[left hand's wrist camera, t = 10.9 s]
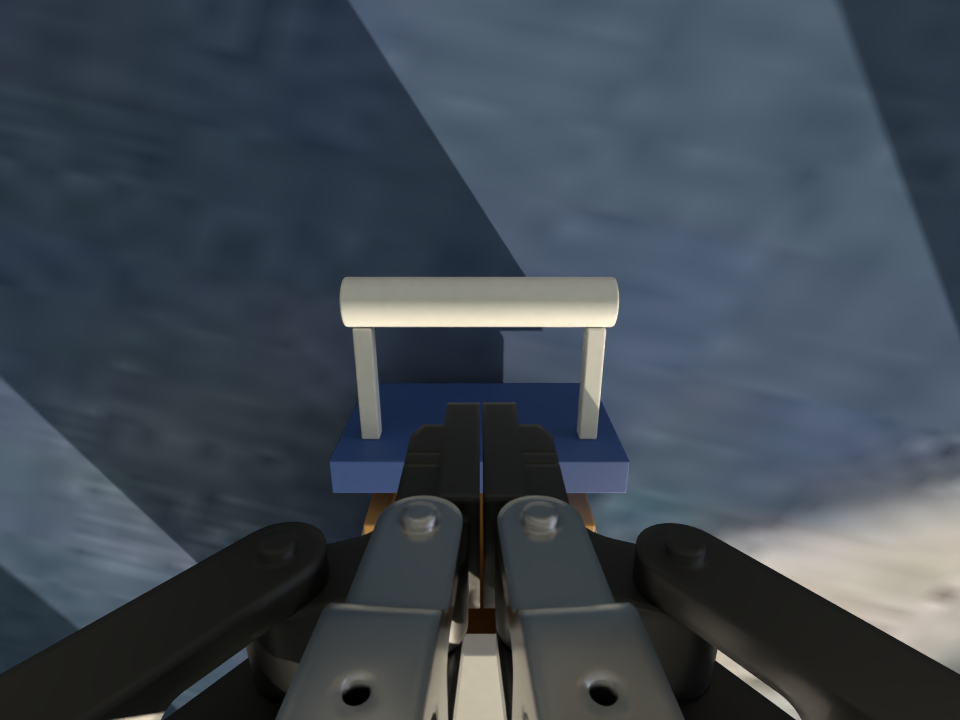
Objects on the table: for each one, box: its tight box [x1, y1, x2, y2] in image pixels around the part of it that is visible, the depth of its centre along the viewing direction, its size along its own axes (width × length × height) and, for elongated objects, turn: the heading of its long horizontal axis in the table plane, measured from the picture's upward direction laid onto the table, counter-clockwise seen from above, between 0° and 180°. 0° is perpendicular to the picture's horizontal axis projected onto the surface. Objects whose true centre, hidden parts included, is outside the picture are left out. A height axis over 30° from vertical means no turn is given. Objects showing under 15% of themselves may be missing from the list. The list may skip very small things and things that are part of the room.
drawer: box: [329, 277, 629, 634], centre depth 22 cm, size 21×9×6 cm, turn 0°
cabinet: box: [361, 516, 597, 720], centre depth 26 cm, size 16×11×8 cm, turn 0°
